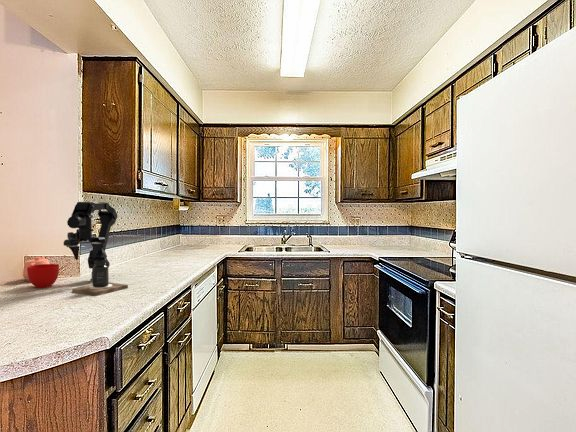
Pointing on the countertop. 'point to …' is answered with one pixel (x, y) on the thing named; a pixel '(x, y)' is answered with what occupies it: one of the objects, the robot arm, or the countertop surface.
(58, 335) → the countertop surface
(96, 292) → the walnut board
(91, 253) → the robot arm
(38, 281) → the ceramic cup
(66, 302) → the countertop surface
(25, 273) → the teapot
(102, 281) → the supplement bottle
